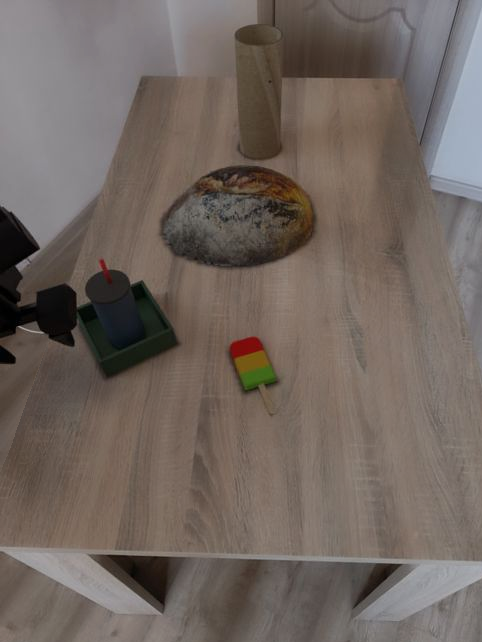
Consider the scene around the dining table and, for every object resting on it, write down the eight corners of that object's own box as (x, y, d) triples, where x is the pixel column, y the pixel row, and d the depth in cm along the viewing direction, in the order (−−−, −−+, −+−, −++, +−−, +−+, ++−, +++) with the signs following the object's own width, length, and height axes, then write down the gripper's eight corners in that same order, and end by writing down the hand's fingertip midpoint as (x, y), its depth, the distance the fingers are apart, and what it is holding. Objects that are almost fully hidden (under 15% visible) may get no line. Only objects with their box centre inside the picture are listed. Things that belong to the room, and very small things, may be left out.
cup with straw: (136, 356, 82) (108, 284, 67) (101, 346, 83) (65, 274, 68) (153, 326, 86) (129, 252, 71) (119, 317, 87) (89, 242, 72)
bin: (106, 377, 80) (99, 363, 76) (80, 324, 86) (72, 308, 83) (177, 344, 84) (173, 328, 80) (147, 295, 90) (142, 279, 87)
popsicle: (258, 339, 84) (257, 333, 83) (288, 411, 76) (289, 405, 75) (228, 348, 83) (227, 342, 82) (256, 421, 75) (256, 416, 74)
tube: (287, 144, 118) (292, 32, 98) (264, 163, 114) (264, 50, 93) (255, 131, 122) (253, 20, 101) (231, 149, 117) (224, 37, 96)
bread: (324, 260, 95) (329, 221, 87) (161, 272, 94) (151, 233, 85) (304, 176, 111) (307, 136, 103) (164, 186, 109) (155, 146, 101)
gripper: (39, 219, 58) (102, 290, 72) (-99, 263, 59) (-12, 323, 73) (37, 293, 53) (105, 353, 66) (-114, 338, 54) (-17, 388, 68)
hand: (44, 352), depth 68 cm, fingers open, 9 cm apart
